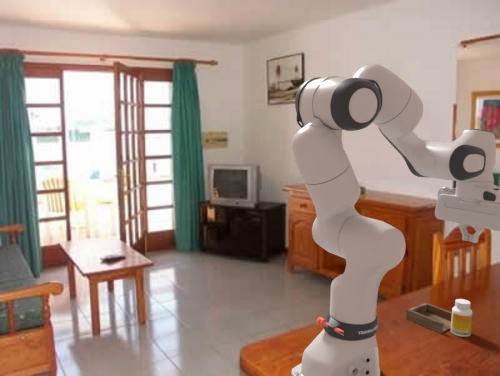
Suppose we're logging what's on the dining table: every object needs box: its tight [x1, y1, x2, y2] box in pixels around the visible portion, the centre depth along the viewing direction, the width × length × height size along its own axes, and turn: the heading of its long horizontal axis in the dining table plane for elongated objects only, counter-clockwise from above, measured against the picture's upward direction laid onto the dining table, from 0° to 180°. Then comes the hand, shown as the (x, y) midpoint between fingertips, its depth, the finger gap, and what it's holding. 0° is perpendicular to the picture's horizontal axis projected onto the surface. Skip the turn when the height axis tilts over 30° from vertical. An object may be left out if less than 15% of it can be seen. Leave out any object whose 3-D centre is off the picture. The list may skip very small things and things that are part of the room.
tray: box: [405, 302, 452, 334], centre depth 139 cm, size 10×12×3 cm
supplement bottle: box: [450, 298, 473, 338], centre depth 131 cm, size 5×5×10 cm
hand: (469, 241), depth 122 cm, fingers closed
